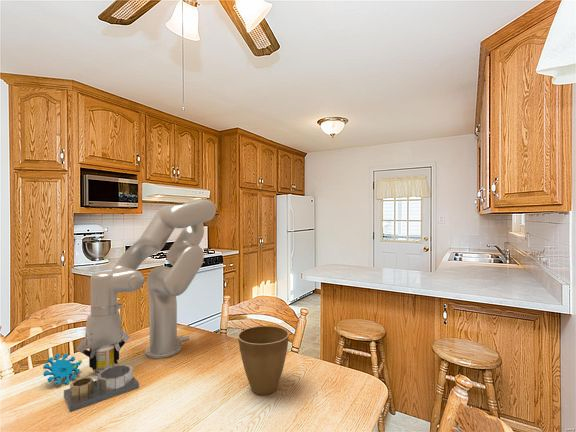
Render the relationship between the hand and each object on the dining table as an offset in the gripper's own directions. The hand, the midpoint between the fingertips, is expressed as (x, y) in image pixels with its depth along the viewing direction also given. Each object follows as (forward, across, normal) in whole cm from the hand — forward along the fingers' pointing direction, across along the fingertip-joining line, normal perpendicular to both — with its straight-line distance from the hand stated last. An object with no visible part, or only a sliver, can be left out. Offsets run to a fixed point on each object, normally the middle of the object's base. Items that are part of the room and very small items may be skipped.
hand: (104, 365), depth 104 cm
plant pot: (+2, -32, +43) cm, 54 cm away
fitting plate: (+2, +4, +13) cm, 14 cm away
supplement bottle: (+2, 0, 0) cm, 2 cm away
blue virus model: (+2, +11, -2) cm, 11 cm away
